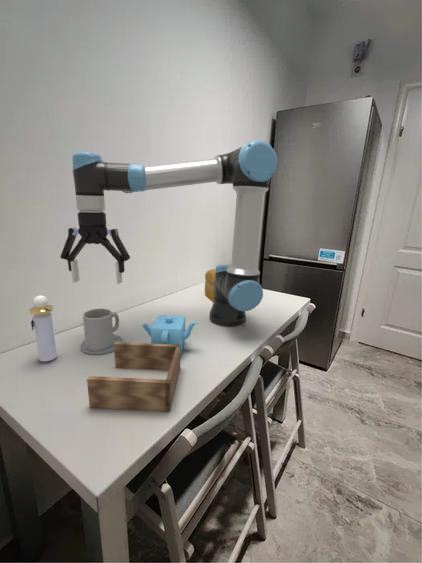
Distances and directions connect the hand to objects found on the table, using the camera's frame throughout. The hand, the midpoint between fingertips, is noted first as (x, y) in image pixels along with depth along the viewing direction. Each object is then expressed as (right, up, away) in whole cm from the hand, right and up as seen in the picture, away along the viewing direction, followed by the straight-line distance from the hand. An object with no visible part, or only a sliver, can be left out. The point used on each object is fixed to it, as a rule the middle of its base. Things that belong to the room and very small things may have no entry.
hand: (97, 282), depth 86 cm
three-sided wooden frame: (+16, -27, -14) cm, 34 cm away
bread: (+45, -8, +59) cm, 75 cm away
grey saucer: (-1, -21, +6) cm, 22 cm away
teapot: (+22, -22, +4) cm, 32 cm away
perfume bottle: (-13, -23, -4) cm, 27 cm away
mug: (0, -20, +6) cm, 21 cm away
